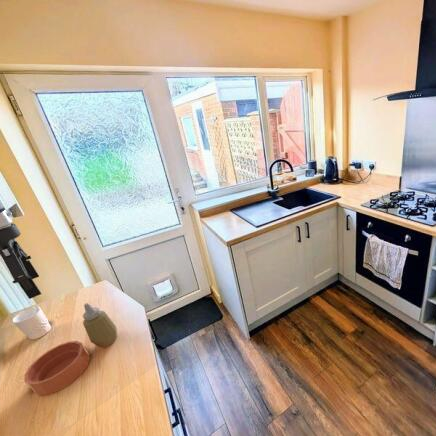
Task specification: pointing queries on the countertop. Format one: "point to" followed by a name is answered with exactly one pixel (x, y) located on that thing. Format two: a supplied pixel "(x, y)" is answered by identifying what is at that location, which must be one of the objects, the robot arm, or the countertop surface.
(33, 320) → the white cup
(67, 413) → the countertop surface
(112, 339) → the squeeze bottle
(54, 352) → the bowl
